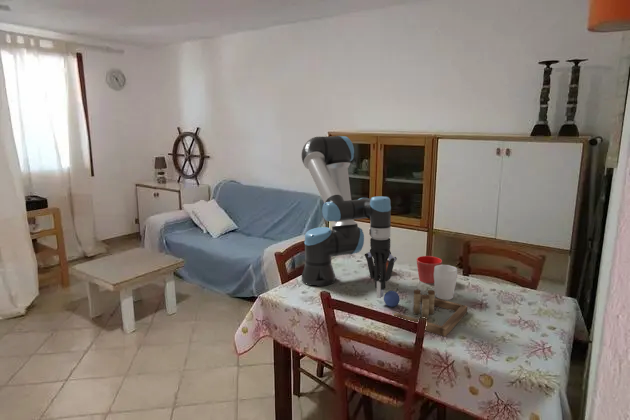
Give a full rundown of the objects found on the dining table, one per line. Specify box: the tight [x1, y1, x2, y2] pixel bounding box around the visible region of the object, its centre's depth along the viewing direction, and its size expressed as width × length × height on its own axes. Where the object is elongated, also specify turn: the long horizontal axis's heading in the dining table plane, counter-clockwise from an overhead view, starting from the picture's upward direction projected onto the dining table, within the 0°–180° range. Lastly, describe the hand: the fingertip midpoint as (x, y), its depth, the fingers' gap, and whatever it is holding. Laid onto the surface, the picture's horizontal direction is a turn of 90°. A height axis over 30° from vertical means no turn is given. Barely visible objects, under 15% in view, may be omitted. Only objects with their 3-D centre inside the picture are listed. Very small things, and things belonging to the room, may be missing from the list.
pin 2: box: [427, 289, 436, 315], centre depth 153 cm, size 2×2×9 cm
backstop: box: [392, 294, 468, 338], centre depth 151 cm, size 19×22×2 cm
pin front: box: [412, 289, 422, 315], centre depth 154 cm, size 2×2×9 cm
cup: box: [433, 264, 458, 301], centre depth 167 cm, size 9×9×12 cm
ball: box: [383, 290, 401, 308], centre depth 160 cm, size 6×6×6 cm
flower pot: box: [416, 255, 443, 284], centre depth 184 cm, size 11×11×10 cm
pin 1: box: [421, 293, 430, 321], centre depth 149 cm, size 2×2×9 cm
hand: (380, 296), depth 162 cm, fingers closed
